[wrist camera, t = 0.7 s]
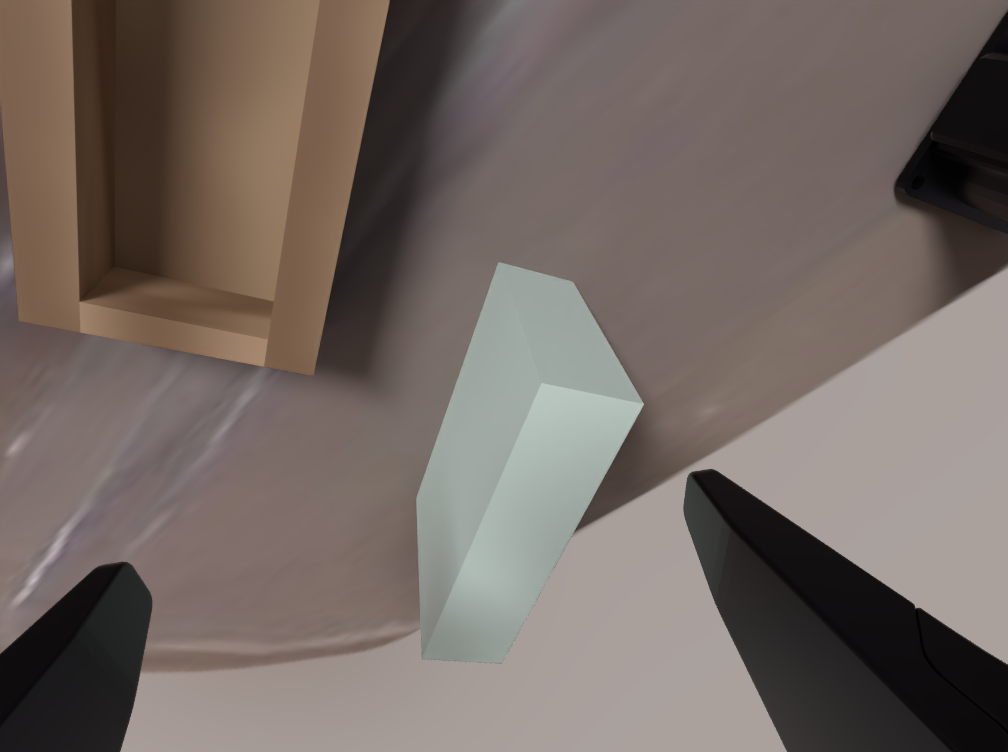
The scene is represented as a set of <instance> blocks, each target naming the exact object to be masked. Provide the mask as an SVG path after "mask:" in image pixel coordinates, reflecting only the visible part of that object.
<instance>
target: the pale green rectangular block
mask: <svg viewBox="0 0 1008 752" xmlns="http://www.w3.org/2000/svg"><path fill="white" fill-rule="evenodd" d="M643 405H644V403H643V402H642V400H641V398H640V397H639V395H638V393H637V391H636V390H635V388H634V386H633V384H632V383H631V381H630V379H629V378H628V376H627V374H626V372H625V371H624V369H623V367H622V366H621V364H620V362H619V360H618V359H617V357H616V355H615V353H614V352H613V350H612V348H611V347H610V345H609V343H608V341H607V340H606V338H605V336H604V335H603V333H602V331H601V329H600V328H599V326H598V324H597V322H596V321H595V319H594V317H593V316H592V314H591V312H590V310H589V309H588V307H587V305H586V304H585V302H584V300H583V298H582V297H581V295H580V293H579V292H578V290H577V288H576V286H575V285H574V283H573V282H572V281H568V280H564V279H560V278H557V277H553V276H549V275H545V274H542V273H538V272H534V271H530V270H526V269H523V268H519V267H515V266H511V265H508V264H504V263H500V262H498V265H497V268H496V271H495V274H494V277H493V280H492V282H491V285H490V288H489V291H488V294H487V297H486V300H485V303H484V305H483V308H482V311H481V314H480V317H479V320H478V323H477V326H476V328H475V331H474V334H473V337H472V340H471V343H470V346H469V348H468V351H467V354H466V357H465V360H464V363H463V366H462V369H461V371H460V374H459V377H458V380H457V383H456V386H455V389H454V392H453V394H452V397H451V400H450V403H449V406H448V409H447V412H446V415H445V417H444V420H443V423H442V426H441V429H440V432H439V435H438V438H437V440H436V443H435V446H434V449H433V452H432V455H431V458H430V460H429V463H428V466H427V469H426V472H425V475H424V478H423V481H422V483H421V486H420V489H419V492H418V495H417V498H416V502H417V532H418V562H419V591H420V621H421V650H422V659H426V660H443V661H461V662H462V661H463V662H479V663H497V664H502V662H503V661H504V659H505V657H506V655H507V653H508V651H509V649H510V648H511V646H512V644H513V642H514V641H515V639H516V637H517V635H518V633H519V631H520V630H521V628H522V626H523V624H524V622H525V620H526V619H527V617H528V615H529V613H530V611H531V610H532V608H533V606H534V604H535V602H536V600H537V599H538V597H539V595H540V593H541V591H542V589H543V588H544V586H545V584H546V582H547V580H548V578H549V577H550V575H551V573H552V571H553V569H554V568H555V565H556V564H557V562H558V560H559V558H560V556H561V555H562V553H563V551H564V549H565V547H566V546H567V544H568V542H569V540H570V538H571V537H572V535H573V533H574V531H575V529H576V527H577V526H578V524H579V522H580V520H581V518H582V516H583V515H584V513H585V511H586V509H587V507H588V506H589V504H590V502H591V500H592V498H593V496H594V495H595V493H596V491H597V489H598V487H599V485H600V484H601V482H602V480H603V478H604V476H605V474H606V473H607V471H608V469H609V467H610V465H611V464H612V462H613V460H614V458H615V456H616V454H617V453H618V451H619V449H620V447H621V445H622V443H623V442H624V440H625V438H626V436H627V434H628V433H629V431H630V429H631V427H632V425H633V423H634V422H635V420H636V418H637V416H638V414H639V412H640V411H641V409H642V407H643Z"/></svg>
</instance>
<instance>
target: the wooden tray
mask: <svg viewBox="0 0 1008 752" xmlns="http://www.w3.org/2000/svg"><path fill="white" fill-rule="evenodd" d="M389 4H390V0H0V104H1V116H2V127H3V139H4V151H5V163H6V175H7V186H8V198H9V210H10V222H11V234H12V245H13V257H14V269H15V281H16V292H17V304H18V316H19V321H22V322H28V323H33V324H38V325H44V326H49V327H54V328H60V329H65V330H70V331H76V332H81V333H86V334H92V335H97V336H103V337H108V338H113V339H119V340H124V341H129V342H135V343H140V344H145V345H151V346H156V347H161V348H167V349H172V350H177V351H183V352H188V353H194V354H199V355H204V356H210V357H215V358H220V359H226V360H231V361H236V362H242V363H247V364H252V365H258V366H263V367H268V368H274V369H279V370H285V371H290V372H295V373H301V374H306V375H311V376H313V375H314V371H315V366H316V361H317V356H318V352H319V347H320V342H321V337H322V333H323V328H324V323H325V318H326V313H327V308H328V304H329V299H330V294H331V289H332V284H333V279H334V274H335V269H336V264H337V259H338V255H339V250H340V245H341V240H342V235H343V230H344V225H345V220H346V215H347V210H348V205H349V201H350V196H351V191H352V186H353V181H354V176H355V171H356V166H357V161H358V156H359V151H360V147H361V142H362V137H363V132H364V127H365V122H366V117H367V112H368V107H369V102H370V98H371V93H372V88H373V83H374V78H375V73H376V68H377V63H378V58H379V53H380V48H381V44H382V39H383V34H384V29H385V24H386V19H387V14H388V9H389Z"/></svg>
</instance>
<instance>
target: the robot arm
mask: <svg viewBox="0 0 1008 752" xmlns="http://www.w3.org/2000/svg"><path fill="white" fill-rule="evenodd" d="M915 177H917V178H916V181H915V182H914V183H913V184H912V185H911V183H912V181H913V179H914V178H915ZM897 188H898V190H899V191H900V192H901V193H904V194H906V195H908V196H911V197H914V198H916V199H919V200H921V201H924V202H927V203H929V204H932V205H934V206H937V207H940V208H942V209H945V210H947V211H950V212H953V213H955V214H958V215H960V216H963V217H966V218H968V219H971V220H973V221H976V222H979V223H981V224H984V225H986V226H989V227H992V228H994V229H997V230H999V231H1002V232H1005V233H1007V234H1008V12H1007V13H1006V15H1005V16H1004V18H1003V19H1002V21H1001V22H1000V24H999V25H998V27H997V29H996V30H995V32H994V33H993V35H992V36H991V38H990V39H989V41H988V42H987V44H986V45H985V47H984V48H983V50H982V51H981V53H980V54H979V56H978V57H977V59H976V61H975V62H974V64H973V65H972V67H971V68H970V70H969V71H968V73H967V74H966V76H965V77H964V79H963V80H962V82H961V83H960V85H959V86H958V88H957V89H956V91H955V93H954V94H953V96H952V97H951V99H950V100H949V102H948V103H947V105H946V106H945V108H944V109H943V111H942V112H941V114H940V115H939V117H938V118H937V120H936V121H935V123H934V125H933V126H932V128H931V129H930V131H929V132H928V134H927V135H926V137H925V138H924V140H923V141H922V143H921V144H920V146H919V147H918V149H917V150H916V152H915V153H914V155H913V157H912V158H911V160H910V161H909V163H908V164H907V166H906V167H905V169H904V170H903V172H902V173H901V175H900V177H899V179H898V181H897ZM684 516H685V520H686V523H687V526H688V529H689V532H690V534H691V537H692V540H693V543H694V546H695V549H696V551H697V554H698V557H699V560H700V563H701V565H702V568H703V571H704V574H705V577H706V579H707V582H708V585H709V588H710V591H711V593H712V596H713V599H714V601H715V604H716V606H717V608H718V610H719V613H720V615H721V617H722V619H723V621H724V623H725V625H726V627H727V629H728V631H729V633H730V636H731V638H732V639H733V642H734V644H735V646H736V648H737V650H738V652H739V654H740V656H741V658H742V660H743V662H744V664H745V666H746V668H747V671H748V672H749V675H750V676H751V679H752V681H753V682H754V685H755V687H756V689H757V691H758V693H759V695H760V697H761V699H762V701H763V703H764V705H765V707H766V710H767V712H768V714H769V716H770V718H771V719H772V722H773V724H774V726H775V728H776V730H777V732H778V734H779V736H780V738H781V740H782V742H783V745H784V747H785V748H786V750H787V752H1008V664H1006V663H1004V662H1003V661H1001V660H999V659H998V658H996V657H994V656H993V655H991V654H989V653H988V652H986V651H985V650H983V649H981V648H980V647H978V646H977V645H975V644H974V643H972V642H971V641H969V640H968V639H966V638H965V637H963V636H961V635H960V634H958V633H957V632H955V631H954V630H952V629H951V628H949V627H948V626H946V625H945V624H943V623H942V622H940V621H939V620H937V619H936V618H934V617H933V616H931V615H930V614H928V613H927V612H925V611H924V610H922V609H921V608H916V609H915V605H914V604H913V603H912V602H910V601H909V600H907V599H906V598H904V597H903V596H901V595H900V594H898V593H897V592H895V591H894V590H893V589H891V588H890V587H888V586H886V585H885V584H883V583H882V582H881V581H879V580H878V579H876V578H875V577H873V576H871V575H870V574H869V573H867V572H866V571H864V570H863V569H861V568H860V567H858V566H857V565H856V564H854V563H853V562H851V561H849V560H848V559H846V558H845V557H844V556H842V555H841V554H839V553H838V552H836V551H835V550H833V549H832V548H830V547H829V546H827V545H826V544H824V543H823V542H821V541H820V540H818V539H817V538H816V537H814V536H813V535H811V534H810V533H808V532H807V531H805V530H804V529H802V528H801V527H799V526H798V525H796V524H795V523H793V522H792V521H790V520H789V519H787V518H786V517H784V516H783V515H781V514H780V513H778V512H777V511H776V510H774V509H773V508H771V507H770V506H768V505H767V504H765V503H764V502H762V501H761V500H759V499H758V498H756V497H755V496H753V495H752V494H750V493H749V492H747V491H746V490H745V489H743V488H742V487H740V486H739V485H737V484H736V483H734V482H733V481H731V480H730V479H728V478H727V477H725V476H724V475H722V474H721V473H719V472H718V471H716V470H713V469H708V470H701V471H695V472H691V473H690V474H689V475H688V478H687V483H686V491H685V499H684ZM151 612H152V597H151V594H150V591H149V590H148V588H147V587H146V585H145V584H144V582H143V581H142V579H141V578H140V576H139V575H138V573H137V572H136V570H135V569H134V567H133V566H132V565H131V564H129V563H128V562H118V563H111V564H105V565H101V566H98V567H97V568H95V569H94V570H93V571H91V572H90V573H89V574H88V575H87V576H86V577H85V578H84V579H83V580H81V581H80V582H79V583H78V584H77V585H76V586H75V587H74V588H73V589H71V590H70V591H69V592H68V593H67V594H66V595H65V596H64V597H63V598H62V599H60V600H59V601H58V602H57V603H56V604H55V605H54V606H53V607H52V608H50V609H49V610H48V611H47V612H46V613H45V614H44V615H43V616H42V617H41V618H39V619H38V620H37V621H36V622H35V623H34V624H33V625H32V626H31V627H29V628H28V629H27V630H26V631H25V632H24V633H23V634H22V635H21V636H20V637H18V638H17V639H16V640H15V641H14V642H13V643H12V644H11V645H10V646H8V647H7V648H6V649H5V650H4V651H3V652H2V653H1V654H0V752H120V751H121V747H122V743H123V740H124V737H125V734H126V730H127V727H128V724H129V720H130V717H131V713H132V709H133V705H134V701H135V696H136V691H137V686H138V681H139V677H140V671H141V666H142V660H143V655H144V650H145V644H146V639H147V634H148V628H149V623H150V617H151Z"/></svg>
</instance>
